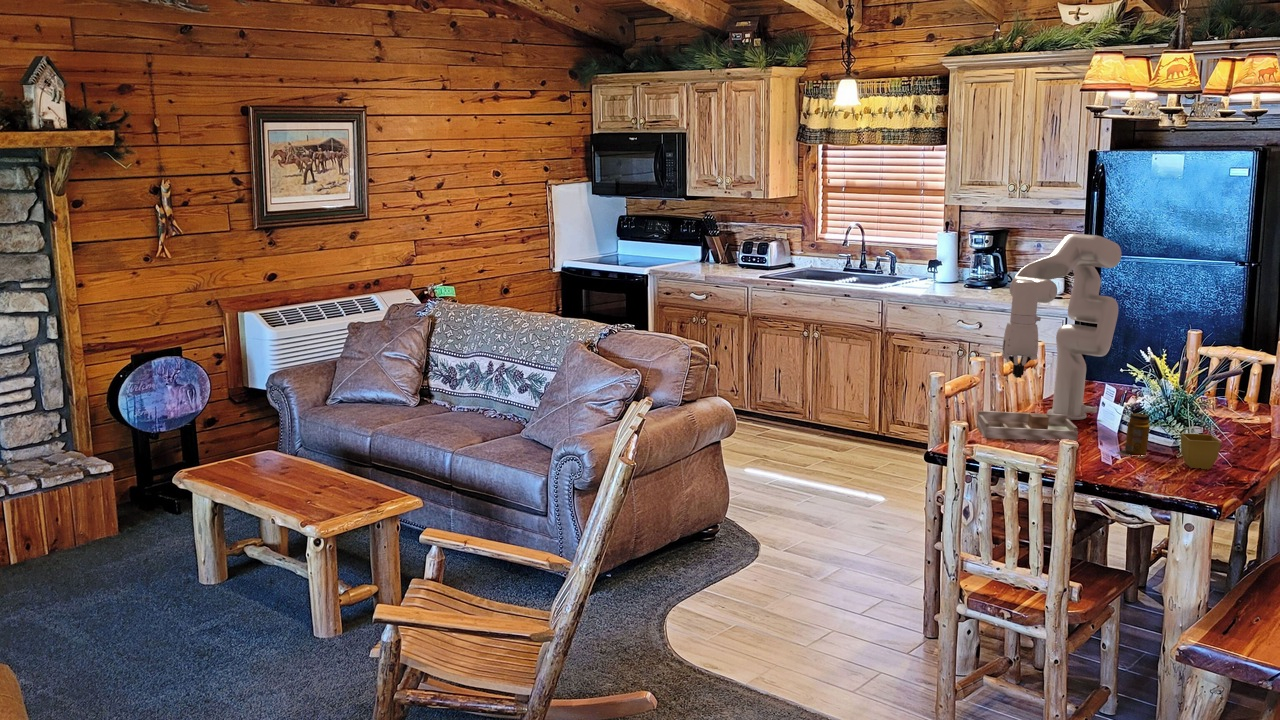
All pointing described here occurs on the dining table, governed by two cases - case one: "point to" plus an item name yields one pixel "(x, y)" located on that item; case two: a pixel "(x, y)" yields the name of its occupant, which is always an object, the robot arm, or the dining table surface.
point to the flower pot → (1199, 450)
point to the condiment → (1137, 435)
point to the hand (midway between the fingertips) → (1017, 376)
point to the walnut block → (1038, 421)
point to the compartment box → (1024, 426)
